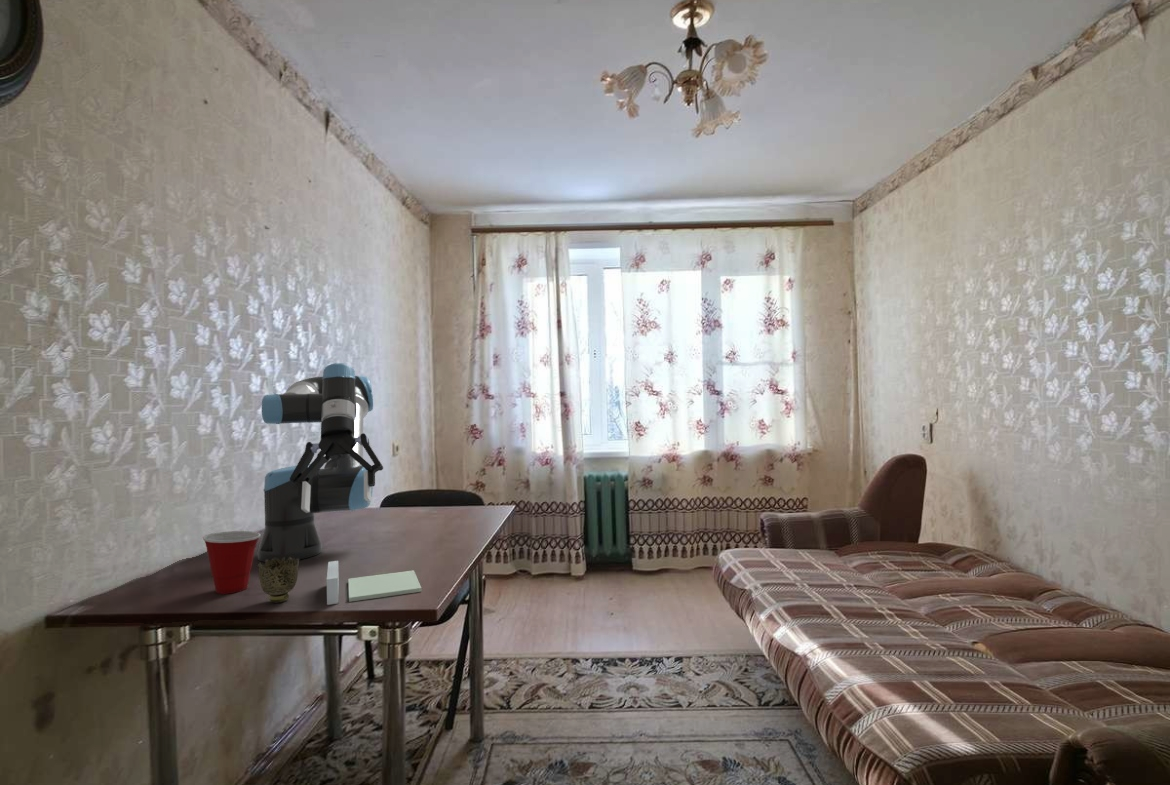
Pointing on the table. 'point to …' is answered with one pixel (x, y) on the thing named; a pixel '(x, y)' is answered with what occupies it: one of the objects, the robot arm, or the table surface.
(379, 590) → the green pad
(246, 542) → the plastic cup
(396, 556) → the table surface
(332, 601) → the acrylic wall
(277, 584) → the cup
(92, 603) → the table surface
